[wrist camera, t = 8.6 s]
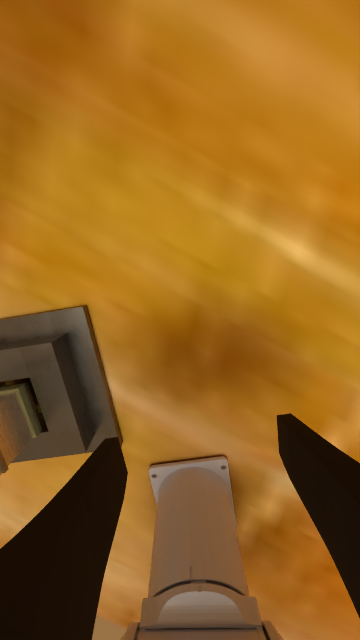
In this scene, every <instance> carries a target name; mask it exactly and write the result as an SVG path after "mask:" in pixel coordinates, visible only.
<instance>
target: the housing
mask: <svg viewBox="0 0 360 640" xmlns="http://www.w3.org/2000/svg"><path fill="white" fill-rule="evenodd" d="M23 378H30V380H31V383H32V386H33V388H34V391H35V394H36V397H37V400H38V403H39V405H40V408H41V411H42V413H39V416H40V419H41V421H42V424H43V426H42V427H41V428H42V431H41V432H40V433H39V435H38V436H37V437H35V438H32V439H31V440H30V441H29V442H28V443H27V444H26V446H25V447H24V448H23V449H22V450H21V452H20V453H19V454H18V455H17V456H16V457H15V459H14V460H13V461H12V462H11V463H14V462H22V461H29V460H37V459H44V458H52V457H59V456H67V455H74V454H82V453H89V452H94V451H95V450H96V448H97V447H98V446H99V445H100V444H101V443H102V441H103V440H104V439H105V438H113V437H118V439H119V442H120V446H122V443H123V441H122V437H121V433H120V429H119V426H118V422H117V418H116V414H115V411H114V407H113V403H112V399H111V395H110V392H109V388H108V384H107V380H106V377H105V373H104V369H103V365H102V361H101V358H100V354H99V350H98V346H97V343H96V339H95V335H94V331H93V327H92V324H91V320H90V316H89V312H88V309H87V305H84V306H78V307H72V308H65V309H59V310H53V311H47V312H41V313H35V314H28V315H22V316H16V317H10V318H4V319H0V387H1V386H5V385H4V382H3V381H9V380H16V379H23Z"/></svg>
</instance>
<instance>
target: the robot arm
mask: <svg viewBox="0 0 360 640" xmlns="http://www.w3.org/2000/svg"><path fill="white" fill-rule="evenodd" d="M277 427H278V442H279V454H280V456H281V459H282V461H283V464H284V466H285V468H286V471H287V473H288V475H289V478H290V480H291V482H292V484H293V485H294V487H295V489H296V491H297V493H298V495H299V497H300V498H301V500H302V502H303V504H304V506H305V508H306V509H307V511H308V513H309V515H310V517H311V519H312V520H313V522H314V524H315V526H316V528H317V530H318V531H319V533H320V535H321V537H322V539H323V541H324V542H325V544H326V546H327V548H328V550H329V552H330V554H331V556H332V558H333V560H334V562H335V565H336V567H337V569H338V571H339V573H340V576H341V578H342V580H343V582H344V584H345V586H346V589H347V591H348V593H349V595H350V597H351V600H352V602H353V604H354V606H355V609H356V611H357V613H358V615H359V618H360V463H359V462H357V461H356V460H354V459H352V458H351V457H349V456H348V455H346V454H345V453H344V452H342V451H341V450H339V449H338V448H336V447H335V446H334V445H332V444H331V443H329V442H328V441H327V440H325V439H324V438H322V437H321V436H320V435H318V434H317V433H316V432H314V431H313V430H312V429H310V428H309V427H308V426H306V425H305V424H304V423H303V422H301V421H300V420H299V419H297V418H296V417H295V416H293V415H292V414H284V415H277ZM223 465H225V466H223ZM127 474H128V472H127V468H126V464H125V461H124V457H123V453H122V450H121V446H120V442H119V439H118V437H113V438H105V439H104V440H103V441H102V443H101V444H100V445H99V446H98V447H97V448H96V450H95V451H94V452H93V453H92V454H91V456H90V457H89V458H88V459H87V460H86V462H85V463H84V464H83V465H82V466H81V467H80V469H79V470H78V471H77V472H76V473H75V474H74V476H73V477H72V478H71V479H70V480H69V481H68V482H67V484H66V485H65V486H64V487H63V488H62V489H61V490H60V491H59V492H58V493H57V494H56V495H55V497H54V498H53V499H52V500H51V501H50V502H49V503H48V504H47V505H46V506H45V507H44V508H43V509H42V510H41V511H40V512H39V513H38V514H37V515H36V516H35V517H34V518H33V519H32V520H31V521H30V522H29V523H28V524H27V525H26V526H25V527H24V528H23V529H22V530H21V531H20V532H19V533H18V534H17V535H16V536H14V537H13V538H12V539H11V540H10V541H9V542H8V543H7V544H5V545H4V546H3V547H2V548H1V549H0V640H92V634H93V629H94V623H95V618H96V613H97V608H98V603H99V597H100V592H101V587H102V582H103V578H104V573H105V569H106V565H107V561H108V557H109V554H110V550H111V546H112V542H113V538H114V535H115V531H116V527H117V523H118V519H119V516H120V512H121V508H122V504H123V500H124V494H125V488H126V481H127ZM154 474H156V475H154ZM149 476H150V481H151V485H152V489H153V493H154V497H155V501H156V505H157V510H156V520H155V530H154V540H153V550H152V560H151V570H150V580H149V590H148V598H144V599H143V601H142V610H141V619H140V622H132V623H130V625H129V626H128V628H127V631H126V632H125V634H124V635H123V637H122V638H121V640H284V639H283V638H282V637H281V635H280V634H279V633H278V632H277V630H276V628H275V626H274V625H273V624H272V623H271V622H270V621H261V618H260V613H259V609H258V604H257V600H256V598H255V597H250V596H249V591H248V587H247V582H246V577H245V572H244V567H243V562H242V557H241V553H240V548H239V543H238V538H237V533H236V519H235V512H234V504H233V497H232V490H231V482H230V475H229V467H228V461H227V458H226V457H224V456H221V457H213V458H205V459H197V460H190V461H182V462H174V463H166V464H159V465H152V466H150V467H149Z"/></svg>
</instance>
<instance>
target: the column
mask: <svg viewBox="0 0 360 640" xmlns="http://www.w3.org/2000/svg"><path fill="white" fill-rule="evenodd" d="M42 426H43V424H42V421H41V419H40V416H39V413H38V410H37V407H36V405H35V402H34V399H33V396H32V393H31V391H30V388H29V385H28V383H21V384H14V385H8V386H1V387H0V475H1V474H2V473H5V472H6V471H7V470H8V466H9V464H10V463H11V462H12V461H13V460H14V459H15V457H16V456H17V455H18V454H19V453H20V452H21V450H22V449H23V448H24V447H25V446H26V444H27V443H28V442H29V441H30V440H31V439H32V438H35V437H37V436H38V435H39V433H40V432H41V431H42V428H41V427H42Z"/></svg>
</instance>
